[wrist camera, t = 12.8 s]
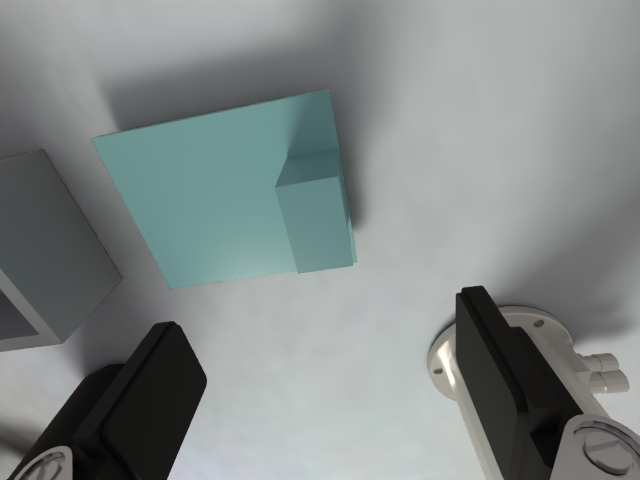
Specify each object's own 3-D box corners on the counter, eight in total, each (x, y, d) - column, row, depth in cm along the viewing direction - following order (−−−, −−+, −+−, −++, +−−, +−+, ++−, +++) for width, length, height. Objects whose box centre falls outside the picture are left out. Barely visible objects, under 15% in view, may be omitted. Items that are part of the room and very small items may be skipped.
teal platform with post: (329, 85, 20) (330, 100, 13) (354, 244, 25) (364, 309, 19) (114, 130, 21) (19, 163, 15) (182, 270, 27) (136, 339, 20)
